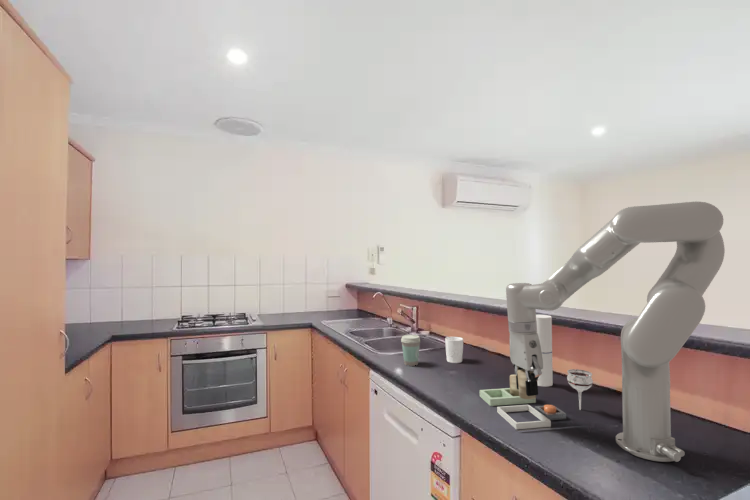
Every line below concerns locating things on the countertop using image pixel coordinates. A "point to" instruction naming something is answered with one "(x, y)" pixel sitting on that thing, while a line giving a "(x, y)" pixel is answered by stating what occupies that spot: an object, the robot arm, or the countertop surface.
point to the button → (549, 408)
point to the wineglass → (579, 381)
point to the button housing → (551, 416)
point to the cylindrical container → (545, 349)
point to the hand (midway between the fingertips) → (527, 391)
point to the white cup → (454, 349)
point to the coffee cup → (410, 349)
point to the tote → (524, 425)
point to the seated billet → (513, 386)
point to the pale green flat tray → (502, 397)
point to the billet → (523, 384)
